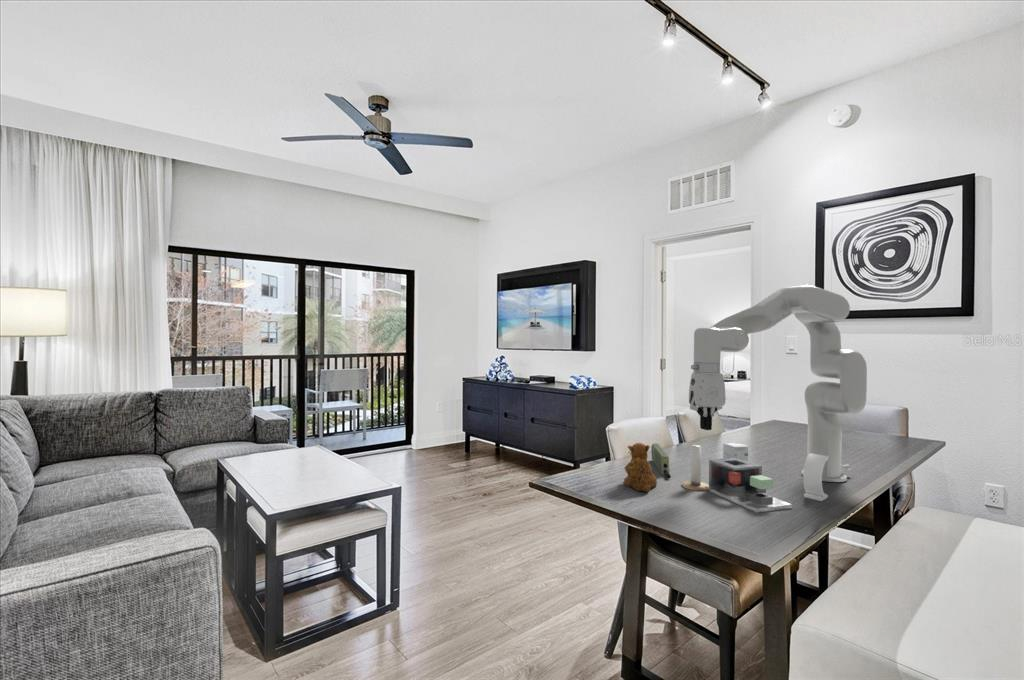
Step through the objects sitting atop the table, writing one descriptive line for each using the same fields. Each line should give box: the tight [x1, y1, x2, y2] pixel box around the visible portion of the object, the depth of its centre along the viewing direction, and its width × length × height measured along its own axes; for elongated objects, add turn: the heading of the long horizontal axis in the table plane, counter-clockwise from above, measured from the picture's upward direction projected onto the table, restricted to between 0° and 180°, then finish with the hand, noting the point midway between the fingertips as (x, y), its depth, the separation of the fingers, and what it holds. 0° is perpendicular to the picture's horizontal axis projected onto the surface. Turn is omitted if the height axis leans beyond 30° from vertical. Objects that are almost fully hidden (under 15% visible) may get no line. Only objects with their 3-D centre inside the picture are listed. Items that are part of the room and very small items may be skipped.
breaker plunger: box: [728, 471, 741, 486], centre depth 144 cm, size 3×3×4 cm
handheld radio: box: [650, 442, 672, 479], centre depth 170 cm, size 7×3×25 cm
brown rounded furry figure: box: [623, 442, 658, 493], centre depth 149 cm, size 10×14×13 cm
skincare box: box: [722, 442, 749, 461], centre depth 177 cm, size 6×6×7 cm
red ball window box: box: [705, 458, 793, 514], centre depth 140 cm, size 12×20×9 cm, turn 17°
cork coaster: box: [681, 480, 709, 492], centre depth 150 cm, size 8×8×1 cm
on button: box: [750, 475, 774, 494], centre depth 135 cm, size 4×4×4 cm
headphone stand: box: [802, 453, 829, 502], centre depth 141 cm, size 5×6×12 cm
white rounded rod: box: [690, 444, 702, 486], centre depth 150 cm, size 3×3×12 cm
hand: (705, 429), depth 148 cm, fingers closed
